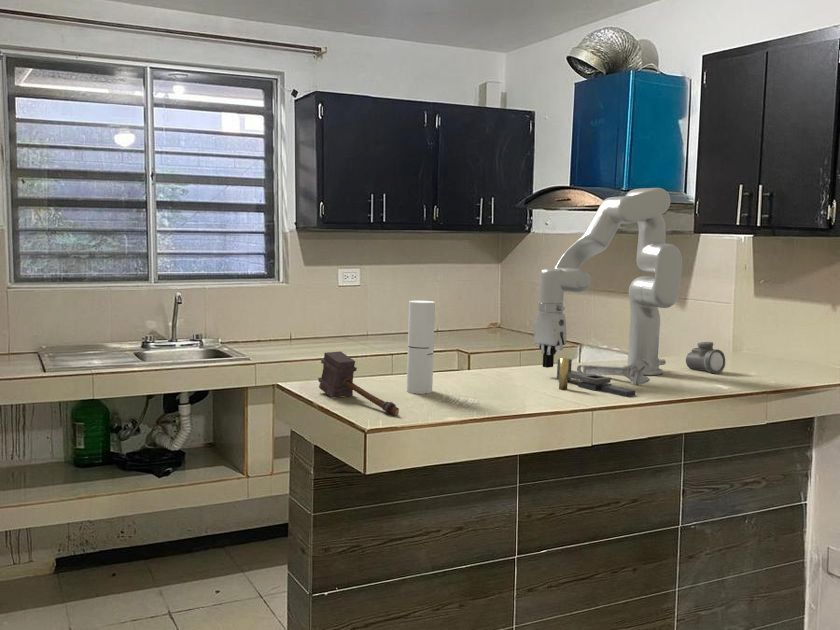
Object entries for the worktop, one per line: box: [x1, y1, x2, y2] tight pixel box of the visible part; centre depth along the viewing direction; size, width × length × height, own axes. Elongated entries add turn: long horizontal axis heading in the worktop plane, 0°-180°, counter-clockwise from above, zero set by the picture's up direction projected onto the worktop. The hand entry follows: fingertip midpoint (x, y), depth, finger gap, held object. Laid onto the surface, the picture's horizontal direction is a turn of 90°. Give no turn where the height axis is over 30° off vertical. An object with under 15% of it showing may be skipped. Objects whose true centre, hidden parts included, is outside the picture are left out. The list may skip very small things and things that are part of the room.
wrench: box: [576, 359, 654, 386], centre depth 249 cm, size 8×2×30 cm
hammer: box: [318, 351, 400, 416], centre depth 205 cm, size 7×33×10 cm, turn 36°
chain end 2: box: [577, 381, 636, 398], centre depth 231 cm, size 7×17×1 cm, turn 36°
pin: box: [558, 357, 570, 391], centre depth 231 cm, size 2×2×9 cm
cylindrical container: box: [406, 299, 436, 395], centre depth 222 cm, size 7×7×25 cm
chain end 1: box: [556, 358, 611, 384], centre depth 239 cm, size 6×17×6 cm, turn 36°
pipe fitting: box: [685, 341, 726, 375], centre depth 270 cm, size 12×8×10 cm
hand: (547, 366), depth 251 cm, fingers closed
